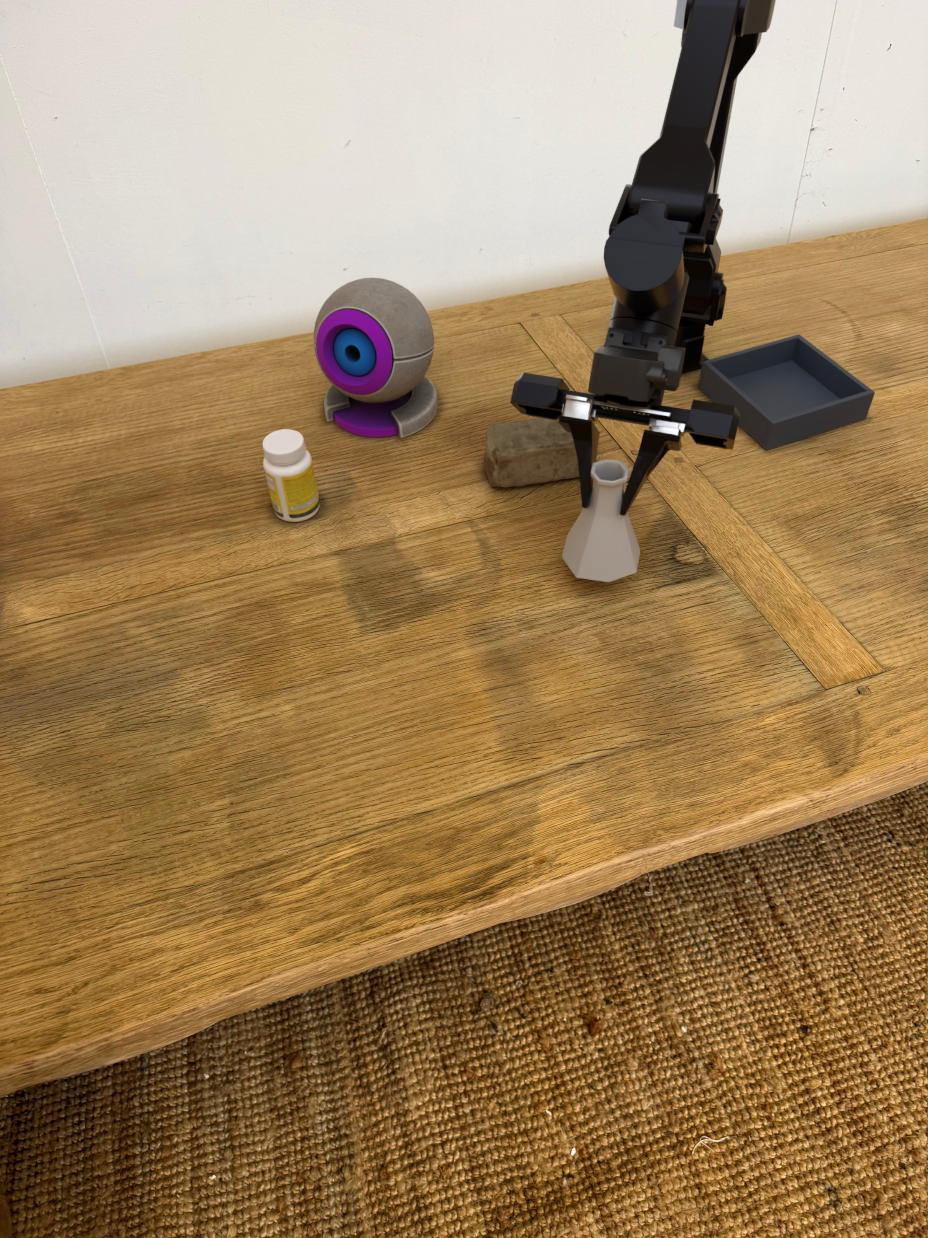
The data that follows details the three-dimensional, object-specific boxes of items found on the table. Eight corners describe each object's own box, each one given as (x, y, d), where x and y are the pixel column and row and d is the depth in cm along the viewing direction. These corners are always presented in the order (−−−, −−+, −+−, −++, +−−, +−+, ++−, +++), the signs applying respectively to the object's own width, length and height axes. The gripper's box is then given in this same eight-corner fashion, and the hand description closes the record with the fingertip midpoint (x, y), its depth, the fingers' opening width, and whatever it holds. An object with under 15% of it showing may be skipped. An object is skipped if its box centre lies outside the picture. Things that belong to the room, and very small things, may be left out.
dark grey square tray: (697, 387, 108) (702, 361, 106) (792, 360, 112) (799, 333, 109) (766, 450, 100) (773, 423, 97) (866, 419, 103) (875, 391, 101)
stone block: (598, 478, 98) (601, 439, 94) (491, 495, 96) (490, 456, 93) (582, 445, 102) (585, 406, 98) (479, 461, 100) (477, 423, 97)
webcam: (305, 426, 105) (282, 303, 94) (356, 367, 113) (340, 247, 102) (410, 450, 102) (399, 325, 91) (455, 387, 110) (450, 265, 99)
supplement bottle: (328, 498, 97) (316, 431, 91) (308, 527, 94) (294, 460, 88) (286, 489, 98) (272, 422, 92) (265, 518, 95) (249, 451, 89)
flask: (555, 532, 88) (560, 446, 80) (631, 526, 88) (643, 440, 81) (567, 587, 83) (574, 502, 76) (648, 581, 83) (662, 494, 76)
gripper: (517, 283, 73) (477, 481, 74) (762, 316, 69) (714, 526, 70) (541, 322, 84) (505, 495, 85) (754, 353, 79) (713, 534, 81)
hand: (603, 511), depth 80 cm, fingers closed on flask, 3 cm apart
